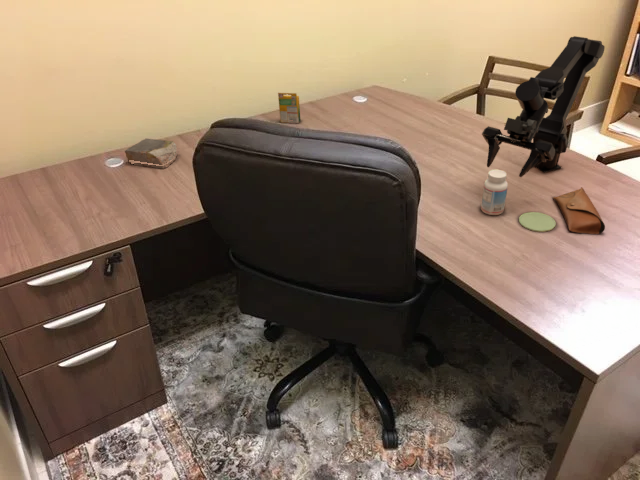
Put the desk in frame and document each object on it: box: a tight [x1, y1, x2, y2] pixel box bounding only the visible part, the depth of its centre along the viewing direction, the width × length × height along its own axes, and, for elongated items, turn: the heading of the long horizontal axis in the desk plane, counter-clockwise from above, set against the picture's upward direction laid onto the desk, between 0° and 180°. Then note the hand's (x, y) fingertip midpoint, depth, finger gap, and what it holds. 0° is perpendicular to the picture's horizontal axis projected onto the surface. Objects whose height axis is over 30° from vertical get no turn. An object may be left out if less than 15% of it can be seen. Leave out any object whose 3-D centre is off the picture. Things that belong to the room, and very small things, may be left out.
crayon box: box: [277, 92, 301, 124], centre depth 201 cm, size 7×3×12 cm, turn 77°
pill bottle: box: [480, 169, 509, 216], centre depth 142 cm, size 6×6×11 cm
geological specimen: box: [124, 138, 179, 170], centre depth 180 cm, size 11×6×15 cm
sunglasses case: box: [552, 187, 606, 235], centre depth 141 cm, size 18×7×7 cm, turn 175°
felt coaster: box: [518, 211, 557, 233], centre depth 140 cm, size 9×9×1 cm
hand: (503, 171), depth 142 cm, fingers open, 9 cm apart
